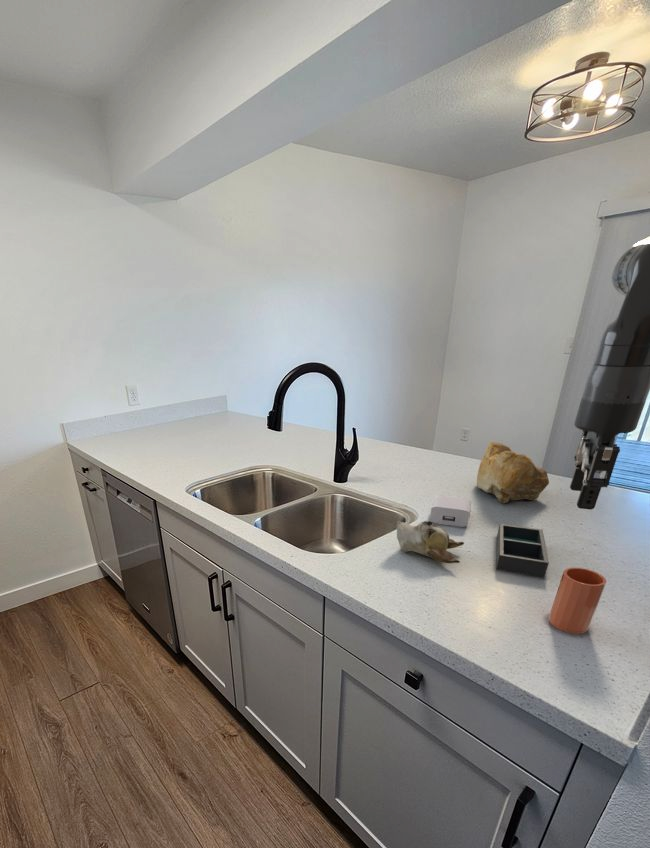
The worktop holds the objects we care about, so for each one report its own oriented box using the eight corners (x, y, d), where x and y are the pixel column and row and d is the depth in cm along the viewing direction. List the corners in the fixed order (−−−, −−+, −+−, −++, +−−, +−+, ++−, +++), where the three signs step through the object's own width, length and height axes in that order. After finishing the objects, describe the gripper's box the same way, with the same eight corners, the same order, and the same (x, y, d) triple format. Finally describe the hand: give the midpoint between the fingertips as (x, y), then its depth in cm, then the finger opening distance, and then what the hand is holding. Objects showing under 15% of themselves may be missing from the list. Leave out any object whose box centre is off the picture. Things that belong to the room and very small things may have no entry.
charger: (469, 506, 125) (466, 527, 113) (435, 502, 129) (429, 522, 117) (473, 491, 123) (470, 511, 111) (437, 487, 127) (431, 506, 115)
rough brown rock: (556, 515, 119) (576, 462, 112) (490, 508, 121) (507, 456, 115) (525, 487, 139) (540, 441, 133) (470, 482, 142) (482, 437, 135)
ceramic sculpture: (403, 506, 105) (470, 520, 99) (397, 537, 110) (461, 552, 103) (393, 524, 97) (465, 540, 91) (387, 557, 102) (456, 574, 95)
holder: (538, 542, 104) (542, 529, 103) (544, 577, 91) (548, 563, 89) (496, 536, 108) (499, 523, 106) (496, 569, 95) (499, 555, 93)
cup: (585, 618, 79) (602, 571, 74) (590, 637, 74) (609, 588, 70) (547, 610, 81) (562, 564, 77) (549, 628, 77) (566, 581, 72)
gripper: (660, 406, 57) (618, 518, 64) (634, 389, 68) (601, 487, 75) (590, 404, 60) (557, 511, 68) (576, 388, 71) (549, 482, 79)
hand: (580, 498), depth 71 cm, fingers open, 8 cm apart
